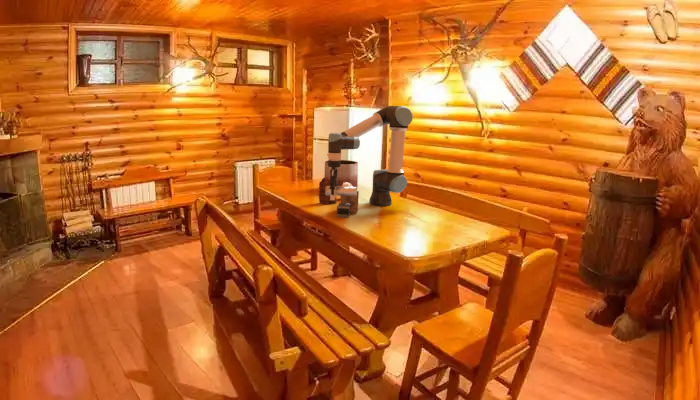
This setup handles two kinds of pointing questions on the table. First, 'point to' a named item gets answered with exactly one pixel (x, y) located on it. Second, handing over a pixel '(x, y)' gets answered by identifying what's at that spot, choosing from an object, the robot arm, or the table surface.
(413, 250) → the table surface
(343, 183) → the figurine
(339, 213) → the v block
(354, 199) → the brown open box
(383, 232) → the table surface
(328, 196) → the wooden figurine
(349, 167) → the planter
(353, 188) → the axle
